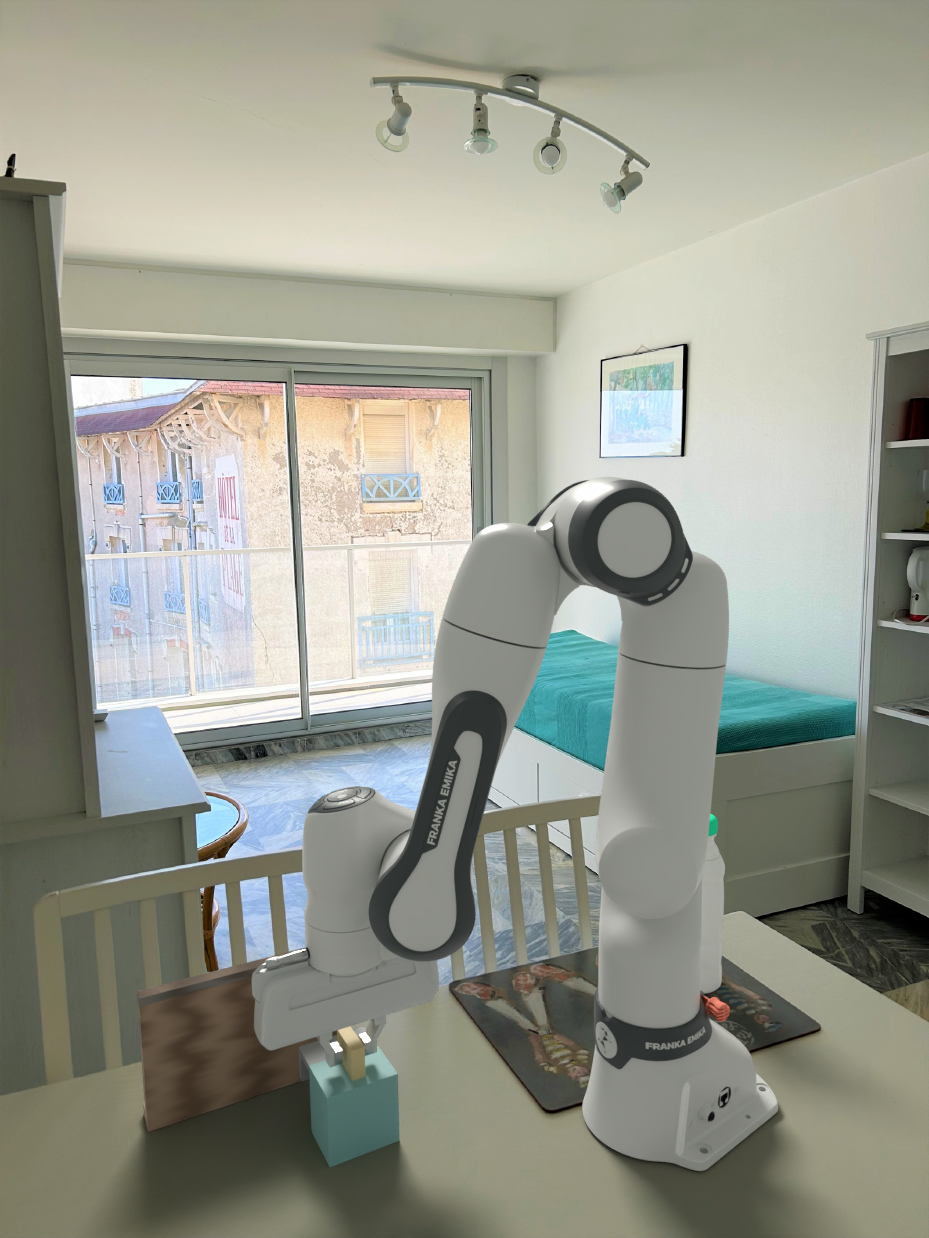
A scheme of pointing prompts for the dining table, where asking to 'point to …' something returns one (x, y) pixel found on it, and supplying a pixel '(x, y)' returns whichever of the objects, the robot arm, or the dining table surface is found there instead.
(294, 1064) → the wall board
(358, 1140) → the key box
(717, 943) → the water bottle
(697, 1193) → the dining table surface
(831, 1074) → the dining table surface
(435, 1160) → the dining table surface
